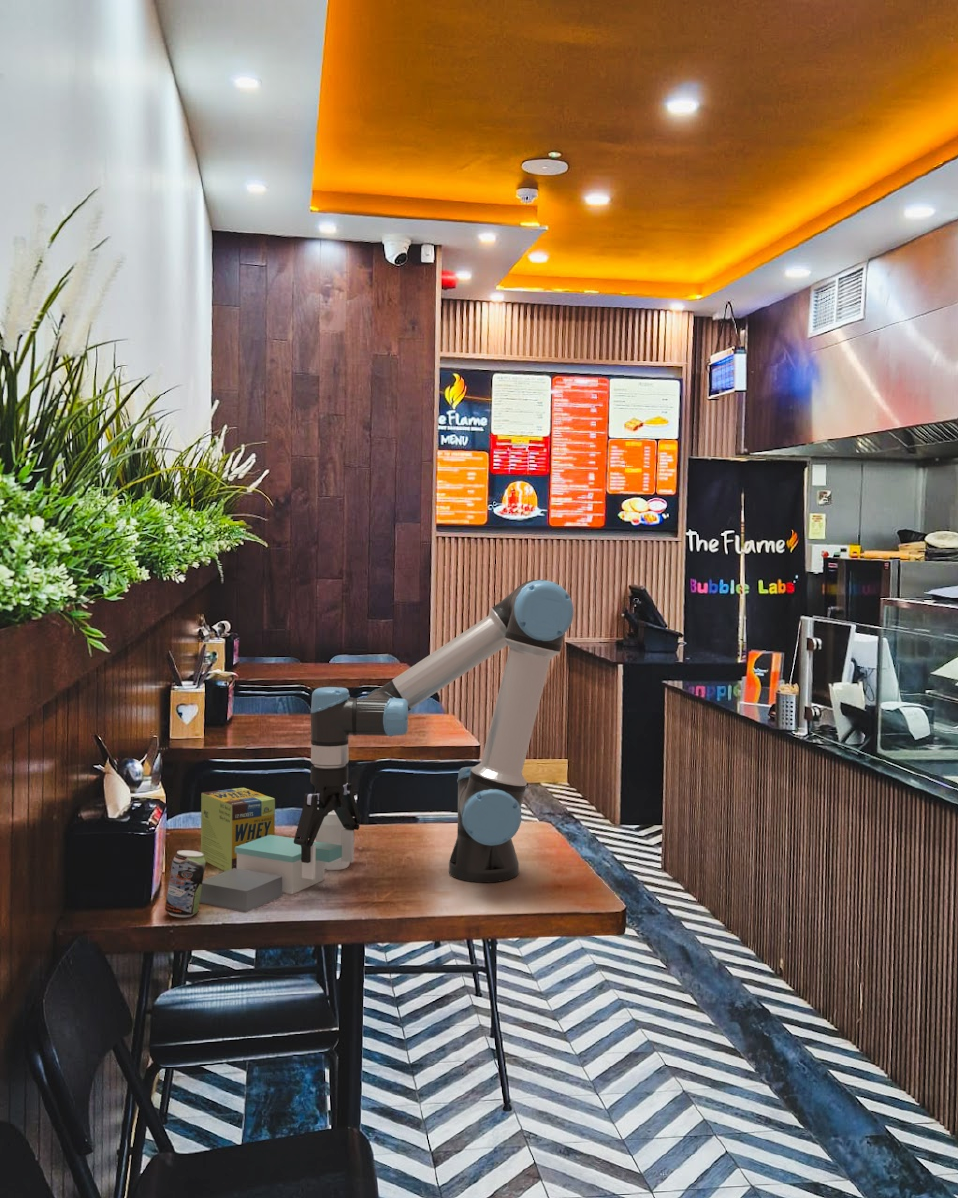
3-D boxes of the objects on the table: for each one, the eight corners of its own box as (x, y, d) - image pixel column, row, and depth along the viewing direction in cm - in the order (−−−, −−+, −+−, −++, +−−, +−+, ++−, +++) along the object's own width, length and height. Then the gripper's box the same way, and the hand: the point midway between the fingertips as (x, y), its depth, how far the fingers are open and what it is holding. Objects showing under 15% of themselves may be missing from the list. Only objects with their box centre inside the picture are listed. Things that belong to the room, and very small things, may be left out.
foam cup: (347, 876, 225) (348, 815, 224) (306, 873, 227) (306, 812, 226) (361, 864, 234) (361, 805, 234) (321, 861, 236) (322, 803, 236)
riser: (282, 899, 209) (282, 876, 209) (246, 915, 199) (246, 891, 199) (234, 890, 214) (234, 868, 214) (196, 905, 204) (197, 882, 204)
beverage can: (159, 915, 198) (159, 852, 198) (194, 907, 203) (194, 845, 203) (175, 923, 194) (175, 858, 193) (211, 915, 199) (211, 851, 199)
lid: (351, 855, 217) (351, 841, 217) (318, 870, 207) (318, 854, 207) (269, 843, 227) (270, 829, 226) (234, 855, 216) (234, 841, 216)
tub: (324, 882, 220) (324, 849, 220) (292, 897, 210) (292, 862, 210) (269, 873, 226) (270, 840, 226) (236, 886, 216) (236, 852, 216)
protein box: (231, 877, 223) (231, 804, 222) (199, 861, 235) (200, 792, 234) (275, 869, 229) (276, 798, 229) (242, 853, 241) (243, 786, 241)
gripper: (348, 753, 225) (347, 852, 226) (276, 773, 203) (275, 882, 203) (378, 756, 222) (377, 857, 222) (308, 777, 199) (307, 888, 200)
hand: (328, 869), depth 213 cm, fingers open, 13 cm apart
